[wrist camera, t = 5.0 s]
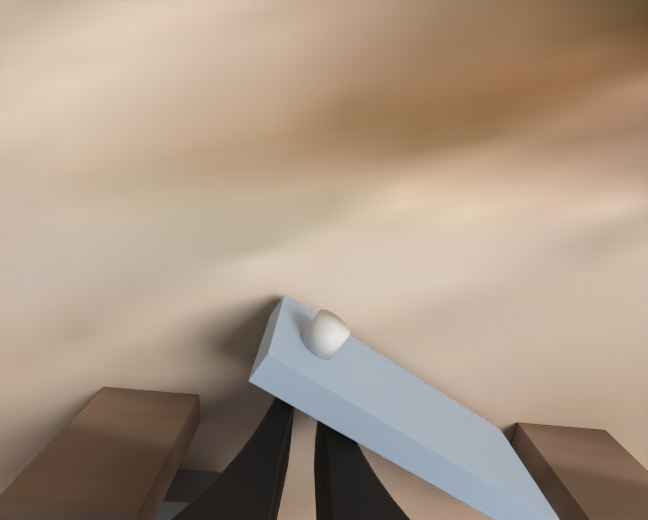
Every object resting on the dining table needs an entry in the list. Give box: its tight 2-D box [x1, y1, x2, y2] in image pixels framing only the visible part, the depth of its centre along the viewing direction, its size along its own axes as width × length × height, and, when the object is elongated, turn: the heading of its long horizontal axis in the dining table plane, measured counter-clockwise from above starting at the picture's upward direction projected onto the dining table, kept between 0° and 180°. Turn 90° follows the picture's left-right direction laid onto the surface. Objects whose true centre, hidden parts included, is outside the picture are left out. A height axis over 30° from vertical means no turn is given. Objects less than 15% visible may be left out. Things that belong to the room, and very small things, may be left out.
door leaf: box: [248, 295, 560, 520], centre depth 12 cm, size 2×11×4 cm, turn 55°
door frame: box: [0, 387, 648, 520], centre depth 12 cm, size 2×22×5 cm, turn 84°
